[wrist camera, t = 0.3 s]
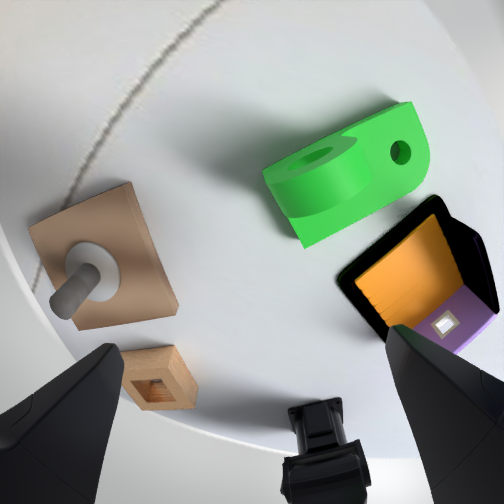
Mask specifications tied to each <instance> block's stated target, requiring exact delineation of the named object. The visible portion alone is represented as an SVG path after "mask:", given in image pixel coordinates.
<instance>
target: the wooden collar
mask: <svg viewBox="0 0 504 504" xmlns="http://www.w3.org/2000/svg"><path fill="white" fill-rule="evenodd" d="M120 354H121V356H122V358H123V360H124V365H125V367H124V373H123V378H122V383H121V385H122V386H123V387H124V389H125V390H126V391H127V393H128V394H129V395H130V396H131V398H132V399H133V400H134V401H135V403H136V404H137V405H138V406H139V407H140V409H141V410H176V409H192V408H195V404H196V398H197V392H198V386H197V384H196V382H195V381H194V379H193V377H192V376H191V374H190V372H189V370H188V369H187V367H186V365H185V363H184V362H183V360H182V358H181V356H180V355H179V353H178V351H177V349H176V347H175V345H173V346H165V347H158V348H150V349H142V350H133V351H124V352H121V353H120ZM151 379H162V381H163V382H155V383H153V382H152V381H151Z"/></svg>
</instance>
